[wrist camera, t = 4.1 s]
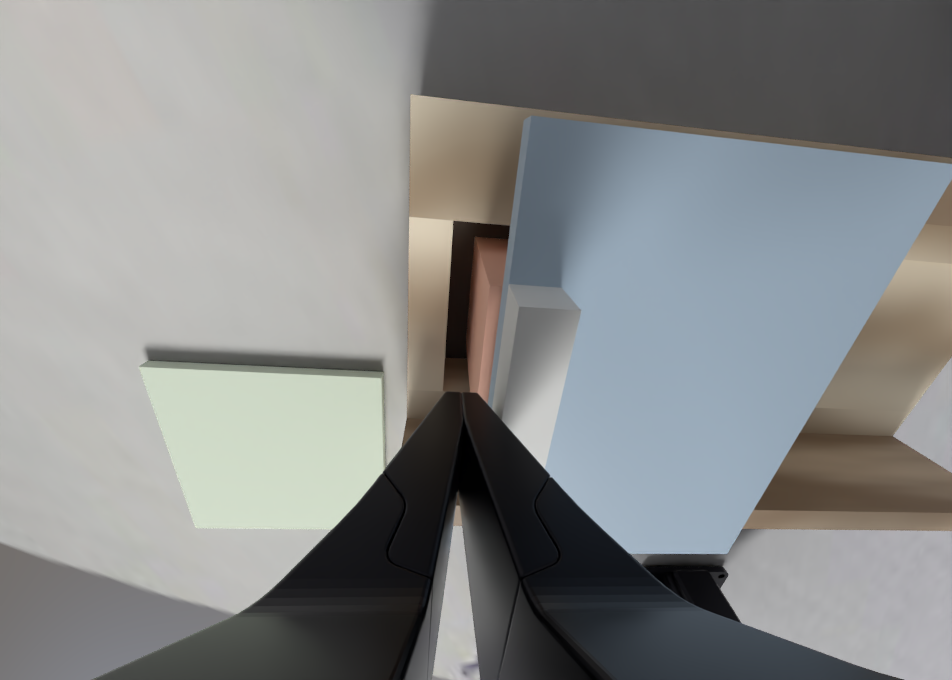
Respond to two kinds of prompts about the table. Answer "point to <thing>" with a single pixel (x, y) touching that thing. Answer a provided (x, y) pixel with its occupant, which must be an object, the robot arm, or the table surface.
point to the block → (484, 310)
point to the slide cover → (686, 312)
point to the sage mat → (269, 441)
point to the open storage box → (840, 407)
